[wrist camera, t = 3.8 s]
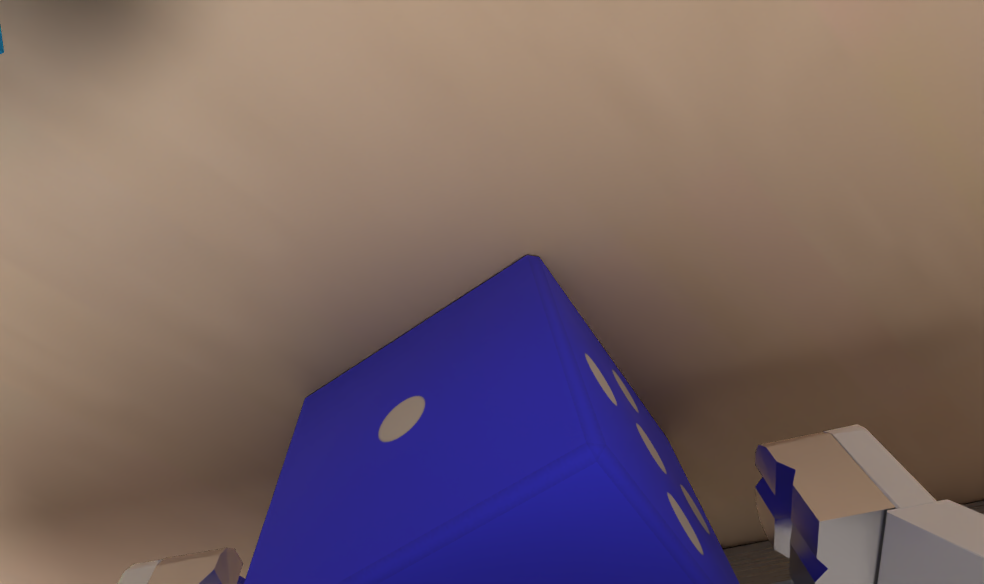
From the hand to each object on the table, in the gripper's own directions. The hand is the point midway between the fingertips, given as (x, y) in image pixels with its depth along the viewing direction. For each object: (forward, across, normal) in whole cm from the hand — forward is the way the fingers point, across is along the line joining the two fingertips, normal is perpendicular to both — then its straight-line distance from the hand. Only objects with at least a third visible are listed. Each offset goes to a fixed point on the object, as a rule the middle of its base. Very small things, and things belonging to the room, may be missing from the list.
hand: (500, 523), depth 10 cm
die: (+3, 0, 0) cm, 3 cm away
